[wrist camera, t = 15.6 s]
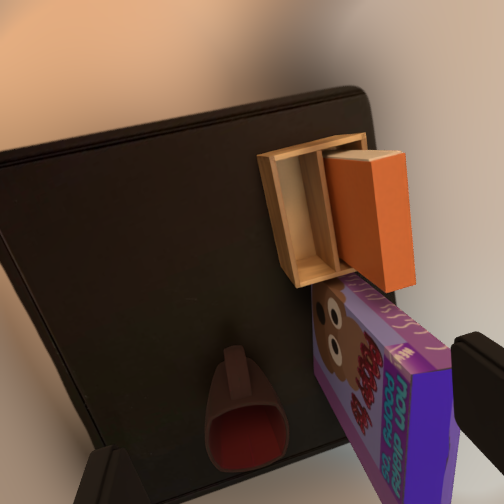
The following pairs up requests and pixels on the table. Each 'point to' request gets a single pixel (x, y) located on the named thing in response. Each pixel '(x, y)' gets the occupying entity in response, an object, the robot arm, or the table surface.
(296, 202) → the book rack
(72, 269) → the table surface
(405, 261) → the book
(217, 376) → the cup
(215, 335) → the table surface
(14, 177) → the table surface
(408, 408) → the cereal box
